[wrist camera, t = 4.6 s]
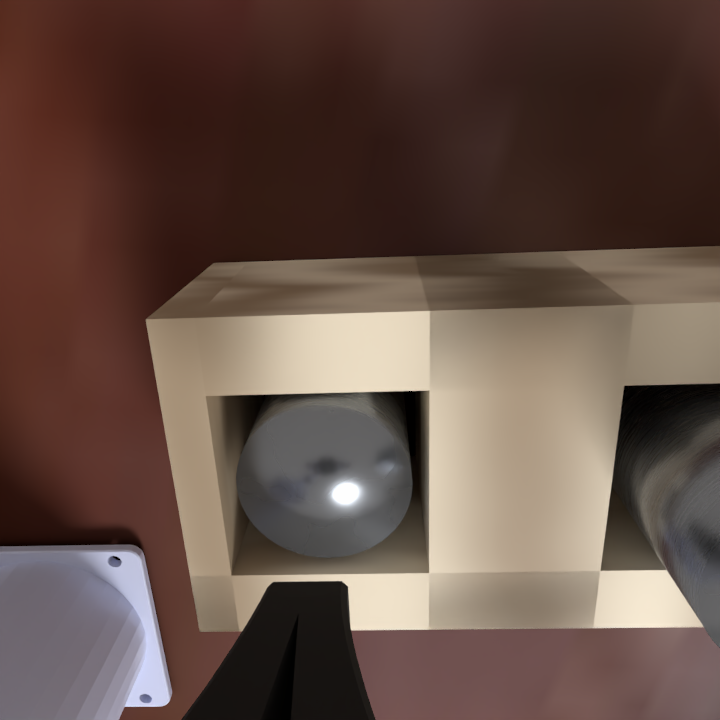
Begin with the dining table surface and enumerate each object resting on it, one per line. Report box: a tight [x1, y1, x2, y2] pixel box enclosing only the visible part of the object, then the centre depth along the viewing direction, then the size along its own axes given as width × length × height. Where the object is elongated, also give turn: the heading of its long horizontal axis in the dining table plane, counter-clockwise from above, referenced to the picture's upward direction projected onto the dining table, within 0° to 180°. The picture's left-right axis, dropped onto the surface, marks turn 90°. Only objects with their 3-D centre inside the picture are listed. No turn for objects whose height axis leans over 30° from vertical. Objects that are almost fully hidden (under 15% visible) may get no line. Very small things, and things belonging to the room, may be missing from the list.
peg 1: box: [236, 391, 413, 558], centre depth 18 cm, size 4×4×6 cm
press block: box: [146, 246, 720, 632], centre depth 18 cm, size 17×9×6 cm, turn 92°
